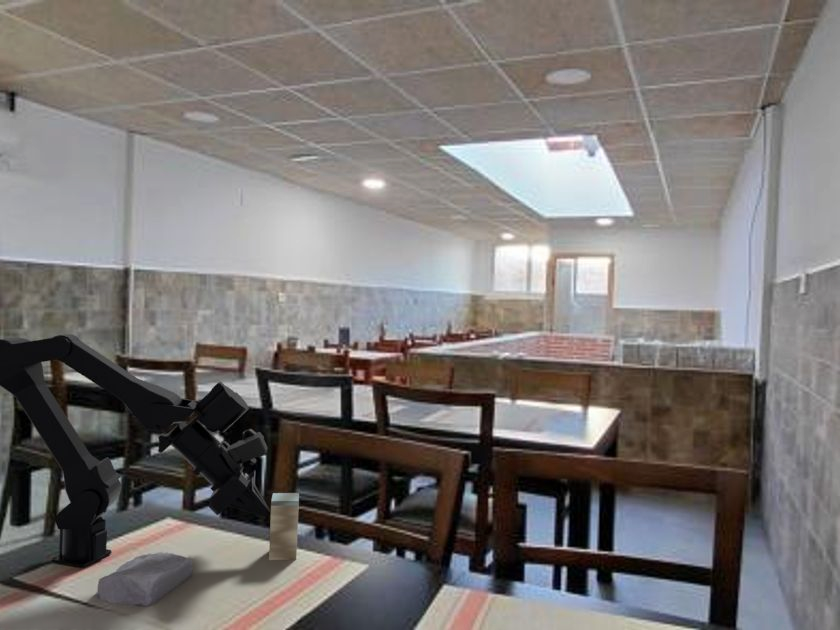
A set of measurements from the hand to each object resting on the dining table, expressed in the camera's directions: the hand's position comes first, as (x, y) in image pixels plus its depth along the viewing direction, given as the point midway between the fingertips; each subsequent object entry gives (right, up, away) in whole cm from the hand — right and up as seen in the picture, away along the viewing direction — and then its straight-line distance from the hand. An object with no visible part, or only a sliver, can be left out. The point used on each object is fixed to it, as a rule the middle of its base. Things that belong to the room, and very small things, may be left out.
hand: (268, 515), depth 111 cm
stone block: (-16, -7, -14) cm, 22 cm away
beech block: (+2, -7, +1) cm, 7 cm away
